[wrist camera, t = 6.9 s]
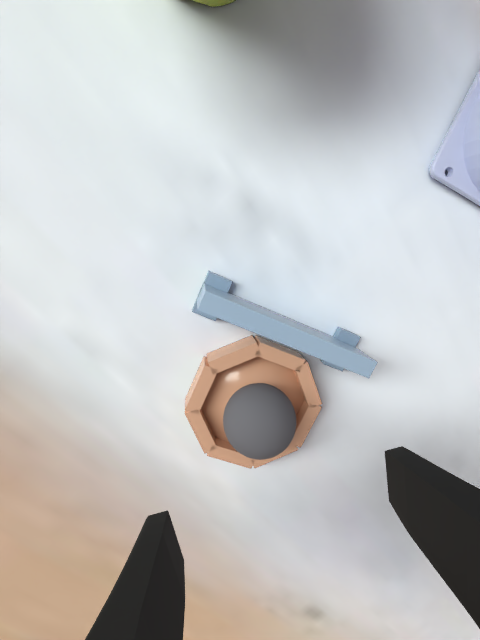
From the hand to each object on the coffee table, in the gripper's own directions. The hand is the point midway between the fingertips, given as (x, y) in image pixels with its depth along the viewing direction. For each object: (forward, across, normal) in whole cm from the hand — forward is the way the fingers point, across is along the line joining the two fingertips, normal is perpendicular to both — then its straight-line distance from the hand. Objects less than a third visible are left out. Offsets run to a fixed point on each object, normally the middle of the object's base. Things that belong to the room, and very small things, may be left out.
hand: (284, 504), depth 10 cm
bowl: (+10, 0, +2) cm, 10 cm away
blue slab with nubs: (+10, -3, -3) cm, 11 cm away
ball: (+9, 0, +2) cm, 9 cm away
